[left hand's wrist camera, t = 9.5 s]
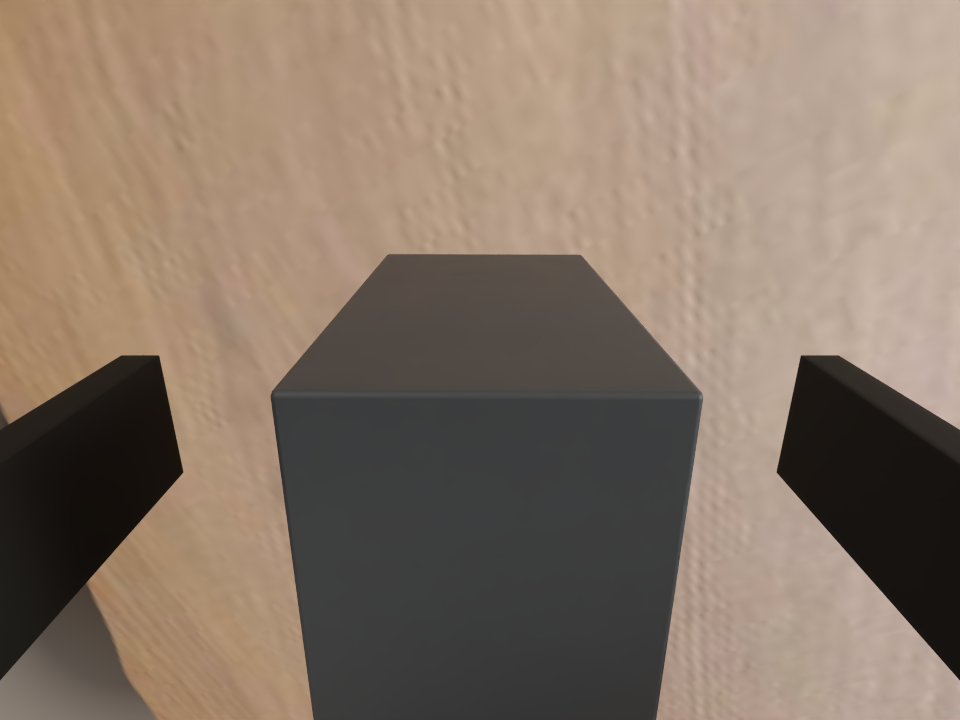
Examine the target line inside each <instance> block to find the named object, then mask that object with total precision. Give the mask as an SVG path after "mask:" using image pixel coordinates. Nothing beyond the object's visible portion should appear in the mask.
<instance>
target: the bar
mask: <svg viewBox="0 0 960 720" xmlns="http://www.w3.org/2000/svg"><path fill="white" fill-rule="evenodd" d="M702 402H703V396H702V393H701V392H700V390H699V389H698V388H697V387H696V386H695V385H694V384H693V382H692V381H691V380H690V379H689V378H688V377H687V376H686V374H685V373H684V372H683V371H682V370H681V369H680V368H679V366H678V365H677V364H676V363H675V362H674V361H673V360H672V358H671V357H670V356H669V355H668V354H667V353H666V352H665V350H664V349H663V348H662V347H661V346H660V345H659V344H658V342H657V341H656V340H655V339H654V338H653V337H652V336H651V334H650V333H649V332H648V331H647V330H646V329H645V328H644V326H643V325H642V324H641V323H640V322H639V321H638V320H637V318H636V317H635V316H634V315H633V314H632V313H631V312H630V310H629V309H628V308H627V307H626V306H625V305H624V304H623V302H622V301H621V300H620V299H619V298H618V297H617V296H616V294H615V293H614V292H613V291H612V290H611V289H610V288H609V286H608V285H607V284H606V283H605V282H604V281H603V280H602V278H601V277H600V276H599V275H598V274H597V273H596V272H595V270H594V269H593V268H592V267H591V266H590V265H589V264H588V262H587V261H586V260H585V259H584V258H583V257H582V256H581V255H433V254H389V255H387V256H386V257H385V259H384V260H383V261H382V262H381V263H380V265H379V266H378V267H377V268H376V269H375V270H374V272H373V273H372V274H371V275H370V276H369V278H368V279H367V280H366V281H365V282H364V283H363V285H362V286H361V287H360V288H359V289H358V291H357V292H356V293H355V294H354V295H353V296H352V298H351V299H350V300H349V301H348V302H347V304H346V305H345V306H344V307H343V308H342V309H341V311H340V312H339V313H338V314H337V315H336V317H335V318H334V319H333V320H332V321H331V322H330V324H329V325H328V326H327V327H326V328H325V330H324V331H323V332H322V333H321V334H320V335H319V337H318V338H317V339H316V340H315V341H314V342H313V344H312V345H311V346H310V347H309V348H308V350H307V351H306V352H305V353H304V354H303V355H302V357H301V358H300V359H299V360H298V361H297V363H296V364H295V365H294V366H293V367H292V368H291V370H290V371H289V372H288V373H287V374H286V376H285V377H284V378H283V379H282V380H281V381H280V383H279V384H278V385H277V386H276V387H275V389H274V390H273V391H272V393H271V403H272V410H273V418H274V425H275V433H276V440H277V448H278V455H279V463H280V470H281V478H282V485H283V493H284V500H285V508H286V515H287V523H288V530H289V538H290V545H291V553H292V560H293V568H294V575H295V583H296V590H297V598H298V606H299V613H300V621H301V628H302V636H303V643H304V651H305V658H306V666H307V673H308V681H309V688H310V696H311V703H312V711H313V718H314V720H656V716H657V709H658V702H659V696H660V689H661V682H662V675H663V668H664V661H665V655H666V648H667V641H668V634H669V627H670V620H671V614H672V607H673V600H674V593H675V586H676V579H677V573H678V566H679V559H680V552H681V545H682V538H683V532H684V525H685V518H686V511H687V504H688V497H689V491H690V484H691V477H692V470H693V463H694V456H695V450H696V443H697V436H698V429H699V422H700V415H701V409H702Z"/></svg>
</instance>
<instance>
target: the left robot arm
mask: <svg viewBox="0 0 960 720" xmlns="http://www.w3.org/2000/svg"><path fill="white" fill-rule="evenodd" d="M182 473H183V468H182V463H181V459H180V454H179V449H178V444H177V439H176V435H175V430H174V425H173V420H172V416H171V411H170V406H169V401H168V396H167V392H166V387H165V382H164V377H163V372H162V368H161V363H160V358H159V356H120V357H118V358H117V359H115V360H113V361H112V362H110V363H109V364H107V365H105V366H104V367H102V368H100V369H99V370H97V371H95V372H94V373H92V374H91V375H89V376H87V377H86V378H84V379H82V380H81V381H79V382H78V383H76V384H74V385H73V386H71V387H69V388H68V389H66V390H65V391H63V392H61V393H60V394H58V395H56V396H55V397H53V398H51V399H50V400H48V401H47V402H45V403H43V404H42V405H40V406H38V407H37V408H35V409H34V410H32V411H30V412H29V413H27V414H25V415H24V416H22V417H21V418H19V419H17V420H16V421H14V422H12V423H11V424H9V425H7V426H6V427H4V428H3V429H1V430H0V680H1V679H2V678H3V676H4V675H5V674H6V673H7V672H8V671H9V670H10V669H11V667H12V666H13V665H14V664H15V663H16V662H17V661H18V659H19V658H20V657H21V656H22V655H23V654H24V653H25V651H26V650H27V649H28V648H29V647H30V646H31V645H32V644H33V642H34V641H35V640H36V639H37V638H38V637H39V636H40V634H41V633H42V632H43V631H44V630H45V629H46V628H47V627H48V625H49V624H50V623H51V622H52V621H53V620H54V619H55V617H56V616H57V615H58V614H59V613H60V612H61V611H62V609H63V608H64V607H65V606H66V605H67V604H68V603H69V602H70V600H71V599H72V598H73V597H74V596H75V595H76V594H77V592H78V591H79V590H80V589H81V588H82V587H83V586H84V585H85V583H86V582H87V581H88V580H89V579H90V578H91V577H92V575H93V574H94V573H95V572H96V571H97V570H98V569H99V568H100V566H101V565H102V564H103V563H104V562H105V561H106V560H107V558H108V557H109V556H110V555H111V554H112V553H113V552H114V550H115V549H116V548H117V547H118V546H119V545H120V544H121V543H122V541H123V540H124V539H125V538H126V537H127V536H128V535H129V533H130V532H131V531H132V530H133V529H134V528H135V527H136V526H137V524H138V523H139V522H140V521H141V520H142V519H143V518H144V516H145V515H146V514H147V513H148V512H149V511H150V510H151V509H152V507H153V506H154V505H155V504H156V503H157V502H158V501H159V499H160V498H161V497H162V496H163V495H164V494H165V493H166V491H167V490H168V489H169V488H170V487H171V486H172V485H173V484H174V482H175V481H176V480H177V479H178V478H179V477H180V476H181V474H182ZM777 473H778V474H779V476H780V477H781V478H782V479H783V480H784V481H785V482H786V484H787V485H788V486H789V487H790V488H791V489H792V490H793V491H794V493H795V494H796V495H797V496H798V497H799V498H800V499H801V501H802V502H803V503H804V504H805V505H806V506H807V507H808V509H809V510H810V511H811V512H812V513H813V514H814V515H815V516H816V518H817V519H818V520H819V521H820V522H821V523H822V524H823V526H824V527H825V528H826V529H827V530H828V531H829V532H830V533H831V535H832V536H833V537H834V538H835V539H836V540H837V541H838V543H839V544H840V545H841V546H842V547H843V548H844V549H845V550H846V552H847V553H848V554H849V555H850V556H851V557H852V558H853V560H854V561H855V562H856V563H857V564H858V565H859V566H860V568H861V569H862V570H863V571H864V572H865V573H866V574H867V575H868V577H869V578H870V579H871V580H872V581H873V582H874V583H875V585H876V586H877V587H878V588H879V589H880V590H881V591H882V592H883V594H884V595H885V596H886V597H887V598H888V599H889V600H890V602H891V603H892V604H893V605H894V606H895V607H896V608H897V610H898V611H899V612H900V613H901V614H902V615H903V616H904V617H905V619H906V620H907V621H908V622H909V623H910V624H911V625H912V627H913V628H914V629H915V630H916V631H917V632H918V633H919V634H920V636H921V637H922V638H923V639H924V640H925V641H926V642H927V644H928V645H929V646H930V647H931V648H932V649H933V650H934V652H935V653H936V654H937V655H938V656H939V657H940V658H941V659H942V661H943V662H944V663H945V664H946V665H947V666H948V667H949V669H950V670H951V671H952V672H953V673H954V674H955V675H956V676H957V678H958V679H959V680H960V430H959V429H957V428H956V427H954V426H953V425H951V424H949V423H948V422H946V421H944V420H943V419H941V418H939V417H938V416H936V415H935V414H933V413H931V412H930V411H928V410H926V409H925V408H923V407H922V406H920V405H918V404H917V403H915V402H913V401H912V400H910V399H909V398H907V397H905V396H904V395H902V394H900V393H899V392H897V391H895V390H894V389H892V388H891V387H889V386H887V385H886V384H884V383H882V382H881V381H879V380H878V379H876V378H874V377H873V376H871V375H869V374H868V373H866V372H865V371H863V370H861V369H860V368H858V367H856V366H855V365H853V364H851V363H850V362H848V361H847V360H845V359H843V358H842V357H840V356H801V358H800V363H799V368H798V372H797V377H796V382H795V387H794V392H793V396H792V401H791V406H790V411H789V416H788V420H787V425H786V430H785V435H784V439H783V444H782V449H781V454H780V459H779V463H778V468H777Z"/></svg>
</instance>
